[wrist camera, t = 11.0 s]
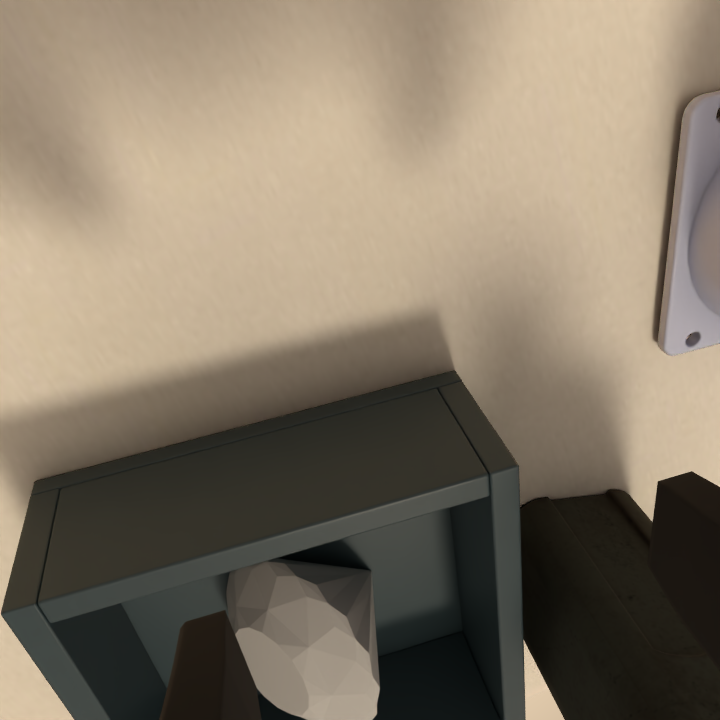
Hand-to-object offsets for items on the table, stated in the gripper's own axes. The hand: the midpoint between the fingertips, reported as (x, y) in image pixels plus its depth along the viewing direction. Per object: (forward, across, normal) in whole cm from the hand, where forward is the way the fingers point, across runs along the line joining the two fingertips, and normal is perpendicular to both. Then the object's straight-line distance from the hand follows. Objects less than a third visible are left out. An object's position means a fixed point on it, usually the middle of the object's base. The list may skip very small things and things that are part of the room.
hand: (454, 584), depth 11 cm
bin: (+9, +3, +9) cm, 13 cm away
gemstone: (+9, +3, +9) cm, 13 cm away
